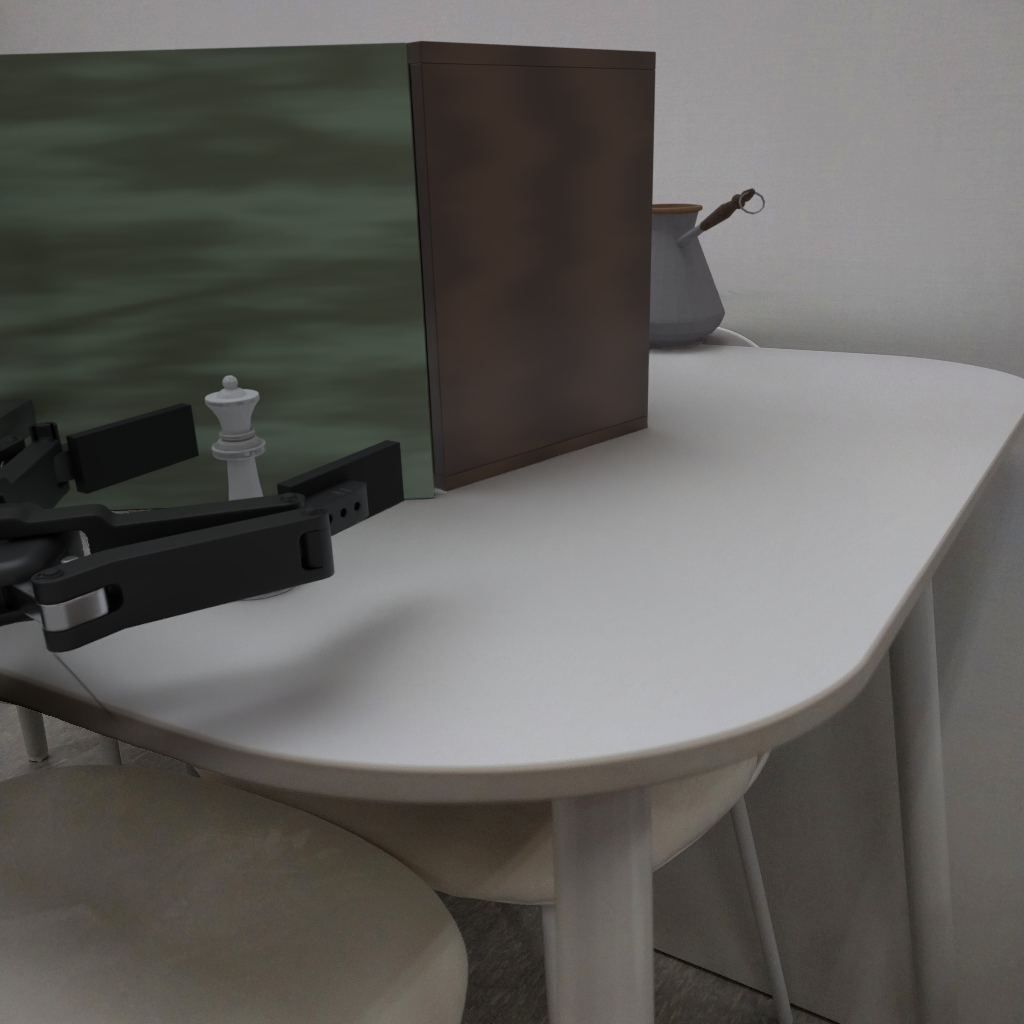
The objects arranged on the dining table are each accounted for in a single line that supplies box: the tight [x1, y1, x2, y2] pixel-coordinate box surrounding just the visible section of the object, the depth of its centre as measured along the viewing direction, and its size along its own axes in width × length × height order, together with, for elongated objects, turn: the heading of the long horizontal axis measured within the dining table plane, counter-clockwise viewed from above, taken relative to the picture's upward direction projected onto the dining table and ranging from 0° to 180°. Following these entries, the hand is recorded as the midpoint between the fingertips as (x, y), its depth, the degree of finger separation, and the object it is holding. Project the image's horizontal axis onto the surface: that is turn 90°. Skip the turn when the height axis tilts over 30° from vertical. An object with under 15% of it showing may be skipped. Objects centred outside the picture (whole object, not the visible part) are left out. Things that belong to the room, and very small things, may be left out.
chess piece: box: [205, 375, 294, 601], centre depth 44 cm, size 4×4×10 cm
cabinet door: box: [0, 41, 436, 511], centre depth 49 cm, size 8×26×24 cm, turn 92°
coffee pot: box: [649, 187, 766, 350], centre depth 89 cm, size 21×12×15 cm, turn 17°
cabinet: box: [405, 40, 657, 493], centre depth 67 cm, size 18×26×24 cm
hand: (285, 448), depth 46 cm, fingers open, 13 cm apart
